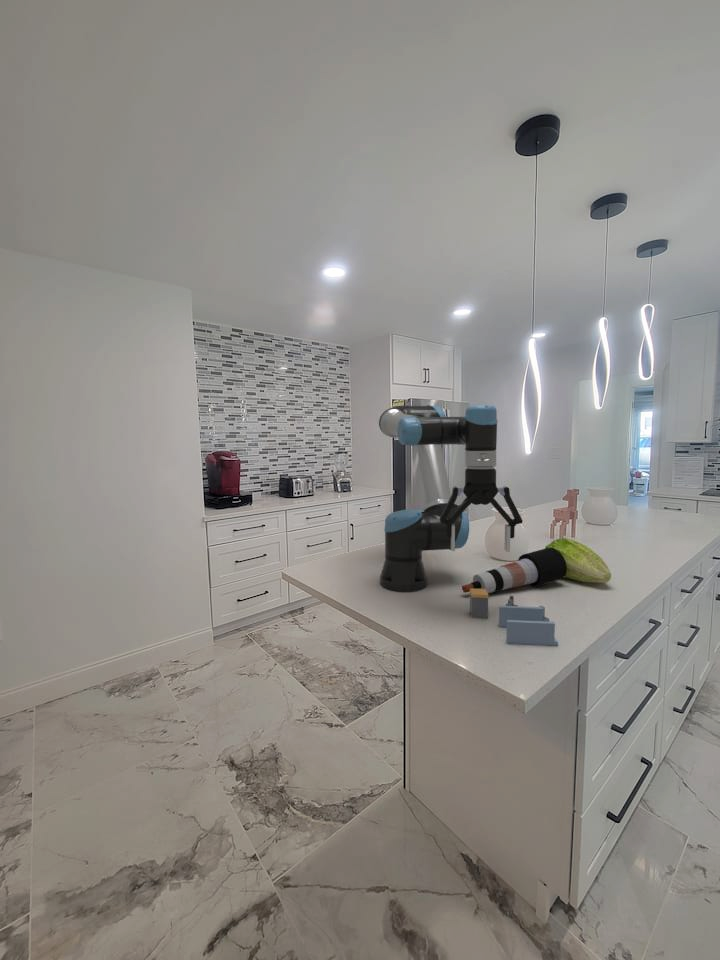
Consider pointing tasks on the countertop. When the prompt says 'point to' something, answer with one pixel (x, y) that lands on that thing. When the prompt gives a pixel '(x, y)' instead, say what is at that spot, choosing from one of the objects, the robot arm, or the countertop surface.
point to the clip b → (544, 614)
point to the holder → (526, 625)
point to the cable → (522, 572)
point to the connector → (479, 603)
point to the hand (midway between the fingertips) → (479, 550)
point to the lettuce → (581, 561)
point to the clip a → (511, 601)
